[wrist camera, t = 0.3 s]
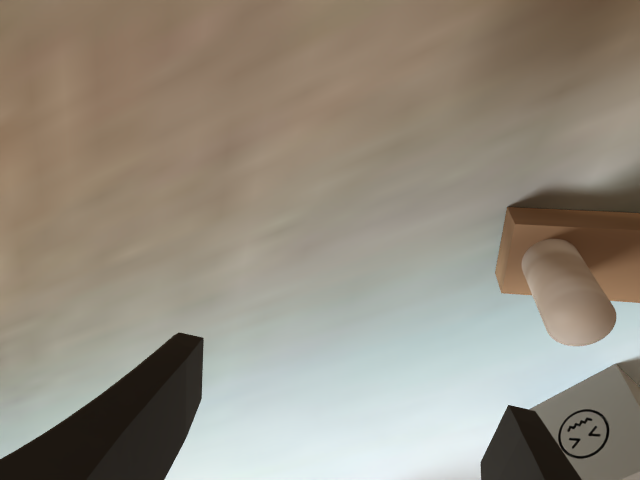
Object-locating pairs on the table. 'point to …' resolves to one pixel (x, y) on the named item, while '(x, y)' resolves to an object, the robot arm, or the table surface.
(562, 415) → the dice cube
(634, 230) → the peg rack
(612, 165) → the table surface
